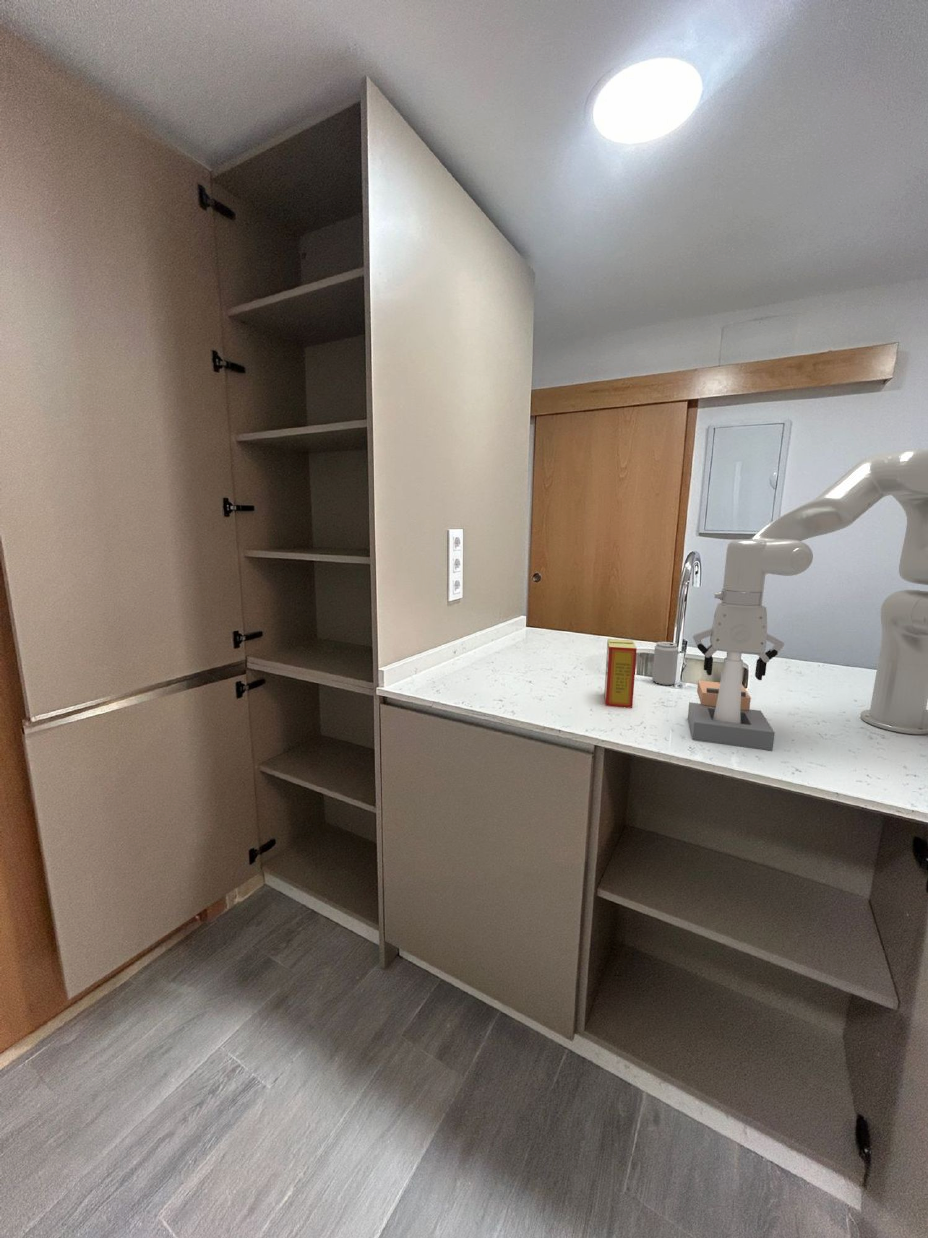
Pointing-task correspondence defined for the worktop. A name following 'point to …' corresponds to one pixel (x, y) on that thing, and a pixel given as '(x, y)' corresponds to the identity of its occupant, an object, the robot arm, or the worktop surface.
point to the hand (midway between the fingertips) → (733, 676)
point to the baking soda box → (620, 673)
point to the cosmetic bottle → (730, 690)
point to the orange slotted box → (710, 694)
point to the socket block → (730, 728)
